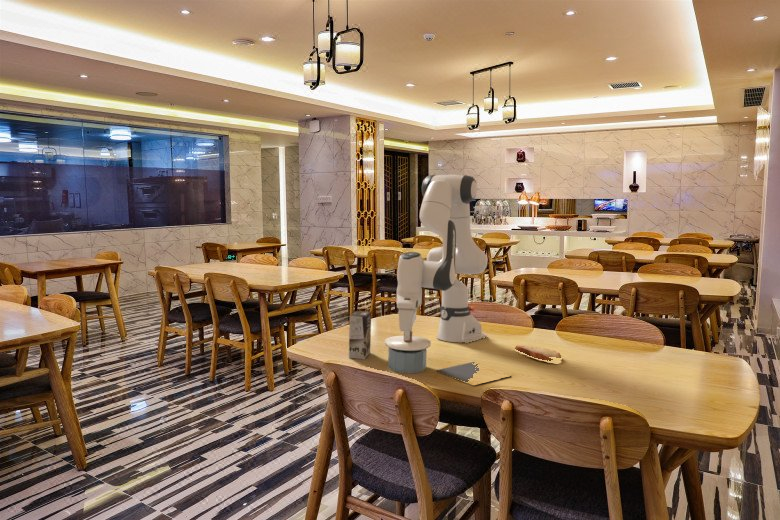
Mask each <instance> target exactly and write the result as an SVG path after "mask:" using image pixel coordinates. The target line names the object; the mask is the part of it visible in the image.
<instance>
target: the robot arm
mask: <svg viewBox="0 0 780 520" xmlns="http://www.w3.org/2000/svg"><path fill="white" fill-rule="evenodd" d="M477 191H478V185H477V180H476V179H475V178H474V177H473V176H471V175H466V174H465V175H461V174H454V173H451V174H450V173H449V174H438V175H436V174H431V175H427V176H426V177H425V178H424V179H423V180H422V184H421V194H422V196H423V198H422V202H421V206H420V209H419V221H420V223H421V224H422V226H423V227H424V228H425V229H427V230H428V231H429V232H431V233H433V234H435V235H438V236H439V237H441V239H442V246H437V247H432V248H431V249H430V250H429V251H428V253H427V255H426V260H424V259H422V255H421V253H419V252H416V251H408V252H403V253H402V254H400V256H399V258H398V263H397V271H396V273H397V274H396V275H397V276H396V279H397V287H396V308H397V309H398V326H399V331H400V332H403V336H404V335H405V336H404V339H405V340H409V339H410V331H412V330H413V326H414V324H415V322H416V319H417V310H418V309H419V307H420V306H421V305H423V302H422V301H423V288H424V289H425V288H428V289H433V290H438V291H441V304H440V320H439V326H438V330H437V335H436V338H437V339H438V340H440V341H444V342H449V343H462V342H465V343H464V344H470V343H469V342H471V343H473V342H472V341H474V340H477V341H479V340H478V339H480V340H482V339H481V338H483V339H485V338H484V337H486V338H488V335H487V333H485V332H483V331H482V324H481V322H480V321H479V320H478V319H477V318H476V317H474V316H473V315H472V313H471V312H473V313H474V312H475V310H476V307H475V306H472V305H470V306H469V288H468V286H467V285H466V284H465V283H463V282H462V281H460V280H459V279H458V278H457V276H456V275H457V274H461V275H471V276H472V275H478V274H483V273H484V272H485V271H486V269H487V267H488V256H487V255H486V254H487V253H485V252H484V251H483V249H481V248H480V247H479V246H478V245H477V244H476V242H475V241H474V238H473V236H472V229H471V211H470V210H471V209H470V206H471V205H470V203H471V202H473V201H474V199H475V198H476V197H477ZM412 332H413V331H412ZM474 342H475V341H474Z"/></svg>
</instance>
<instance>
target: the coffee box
mask: <svg viewBox="0 0 780 520" xmlns="http://www.w3.org/2000/svg"><path fill="white" fill-rule="evenodd" d="M348 329H349V333H348V334H349V335H348V336H349V337H348V338H349V339H348V340H349V341H348V358H349V359H358V360H359V359H360V360H366V359H367V357H368V356H369V355H370V353H371V341H372V340H371V338H372V337H371V335H372V334H371V333H372V312H371V311H363V310H361V311H360V310H355V311H354V312H353V313H352V314H350V315H349V328H348Z"/></svg>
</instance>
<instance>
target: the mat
mask: <svg viewBox="0 0 780 520" xmlns="http://www.w3.org/2000/svg"><path fill="white" fill-rule="evenodd" d="M472 363H473V364H474V363H475V361H472V362H466V363H463V364H462V363H461V364H458V365H453V366H449V367H445V368H444V367H443V368H439V369H436V372H437V373H439V372H440V374H442V373H443V374H442V375H444V374H445V375H444V376H447V375H448V376H447V377H449V376H451V377H453V378H452V379H454V378H456V379H459V380H462V381H465V382H468V381H469V380H468V379H470V378H473V374H474V373H477V372H476V371H479V368H477V367H478V366H477V365H478V364H479V363H478V364H476V365H473V364H472ZM476 366H477V367H476ZM475 367H476V368H475ZM475 369H476V370H475ZM451 377H450V378H451ZM456 379H455V380H456ZM459 380H458V381H459Z"/></svg>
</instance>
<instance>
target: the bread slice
mask: <svg viewBox="0 0 780 520" xmlns="http://www.w3.org/2000/svg"><path fill="white" fill-rule="evenodd" d="M514 349H516V350H518V351H520V352H523V353H525V354H527V355H529V356H532V357H534V358H538V359H542V360H547V361H548V360H549V361H551V360H553V359H551V358H549V357H556V358H561V357H562V355H561V353H560V352H557V351H556V350H553V349H552V350H551V349H549V348H541V347H537V346H529V345H519V344H518V345H515V347H514Z"/></svg>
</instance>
